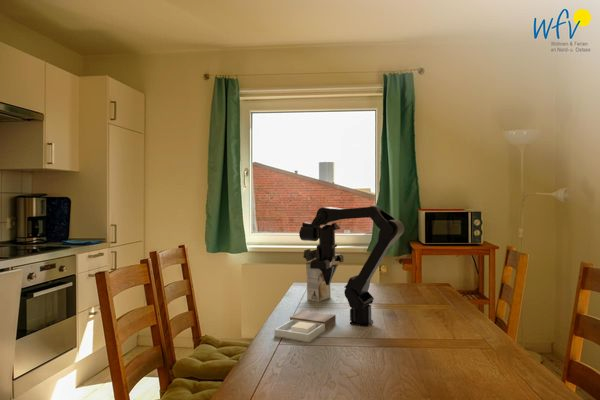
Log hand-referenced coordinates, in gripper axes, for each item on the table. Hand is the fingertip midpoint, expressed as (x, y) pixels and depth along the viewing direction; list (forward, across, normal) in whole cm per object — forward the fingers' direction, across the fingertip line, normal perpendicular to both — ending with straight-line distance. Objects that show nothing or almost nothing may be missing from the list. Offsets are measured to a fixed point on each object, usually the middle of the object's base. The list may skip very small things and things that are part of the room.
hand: (327, 284), depth 152 cm
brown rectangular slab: (+12, +10, -2) cm, 16 cm away
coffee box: (+12, -24, -14) cm, 31 cm away
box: (+12, +20, -2) cm, 24 cm away
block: (+12, +18, -1) cm, 22 cm away
